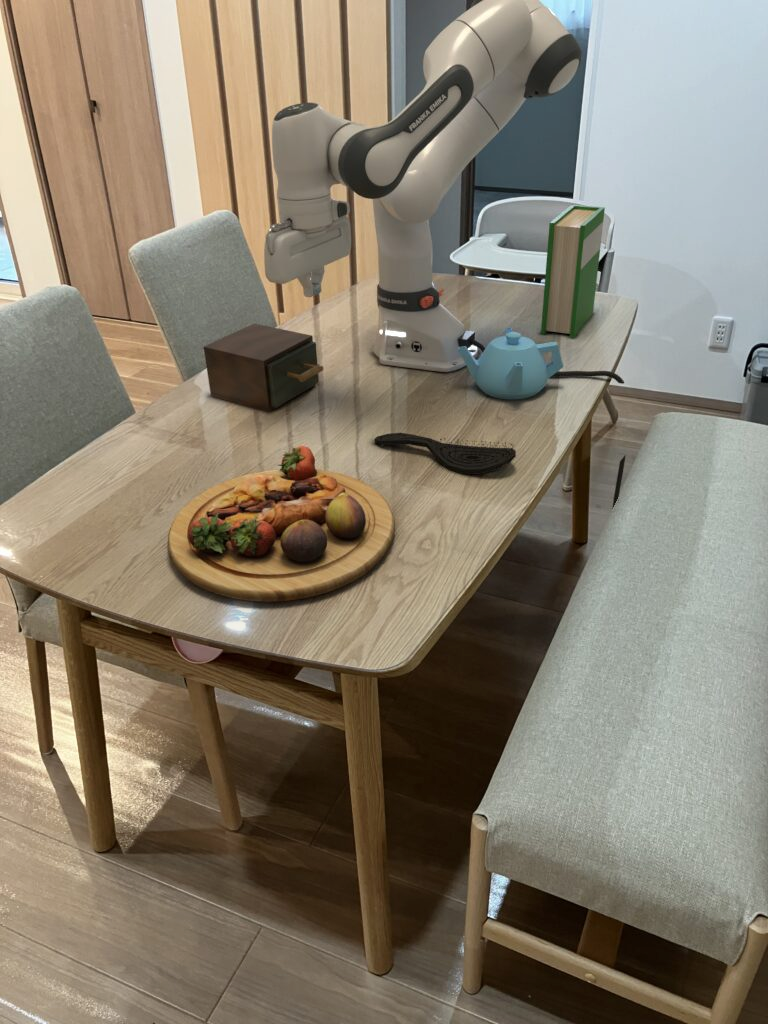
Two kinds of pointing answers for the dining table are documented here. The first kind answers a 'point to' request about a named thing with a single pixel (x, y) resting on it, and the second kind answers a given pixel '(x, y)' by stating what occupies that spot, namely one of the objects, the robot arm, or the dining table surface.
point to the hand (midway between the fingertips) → (312, 294)
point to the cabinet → (248, 363)
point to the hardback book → (572, 269)
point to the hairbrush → (455, 453)
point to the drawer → (293, 373)
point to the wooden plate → (281, 532)
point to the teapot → (512, 366)
